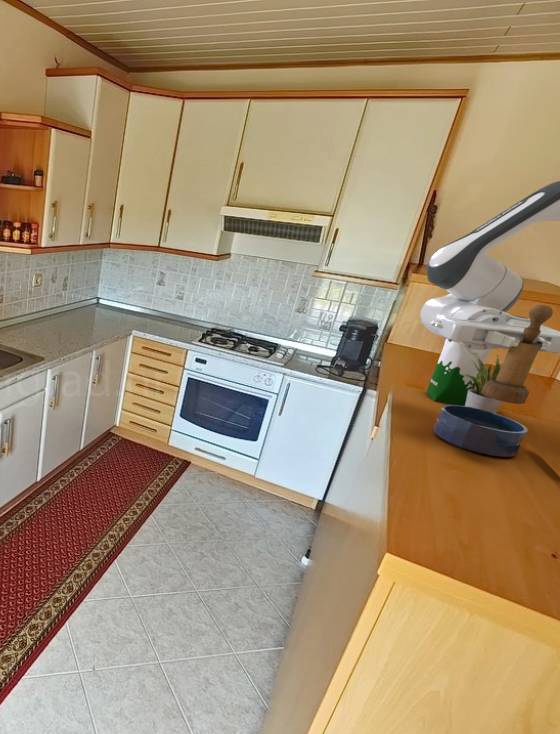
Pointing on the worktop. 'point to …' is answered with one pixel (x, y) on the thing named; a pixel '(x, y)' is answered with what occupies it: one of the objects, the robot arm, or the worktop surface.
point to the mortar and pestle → (518, 362)
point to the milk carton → (455, 373)
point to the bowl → (479, 430)
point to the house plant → (475, 395)
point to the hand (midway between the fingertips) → (530, 345)
